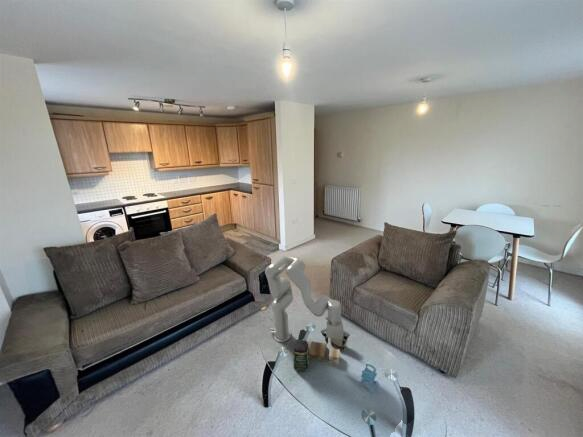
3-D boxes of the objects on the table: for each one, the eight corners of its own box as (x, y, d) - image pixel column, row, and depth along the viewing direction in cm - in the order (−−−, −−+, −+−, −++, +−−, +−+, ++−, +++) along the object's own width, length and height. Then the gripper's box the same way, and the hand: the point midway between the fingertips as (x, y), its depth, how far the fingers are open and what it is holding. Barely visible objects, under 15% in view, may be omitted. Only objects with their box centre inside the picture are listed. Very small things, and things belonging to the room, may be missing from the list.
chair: (364, 374, 141) (364, 359, 137) (378, 382, 136) (379, 366, 132) (358, 384, 136) (359, 369, 132) (373, 393, 131) (374, 377, 127)
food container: (349, 345, 161) (350, 333, 158) (346, 352, 156) (347, 340, 153) (332, 338, 167) (332, 326, 164) (329, 344, 163) (329, 333, 159)
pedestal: (308, 358, 154) (308, 353, 153) (311, 345, 163) (311, 341, 162) (324, 361, 151) (324, 356, 150) (326, 348, 160) (326, 343, 159)
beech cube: (329, 363, 150) (328, 355, 148) (330, 355, 155) (330, 347, 153) (338, 365, 148) (338, 357, 146) (339, 356, 153) (339, 349, 152)
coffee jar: (292, 371, 146) (291, 347, 140) (294, 359, 153) (293, 336, 147) (308, 372, 144) (307, 349, 138) (309, 361, 152) (308, 338, 146)
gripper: (319, 323, 140) (320, 345, 146) (349, 327, 136) (349, 350, 141) (320, 314, 147) (321, 336, 152) (349, 317, 142) (349, 340, 148)
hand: (335, 343), depth 147 cm, fingers open, 9 cm apart
